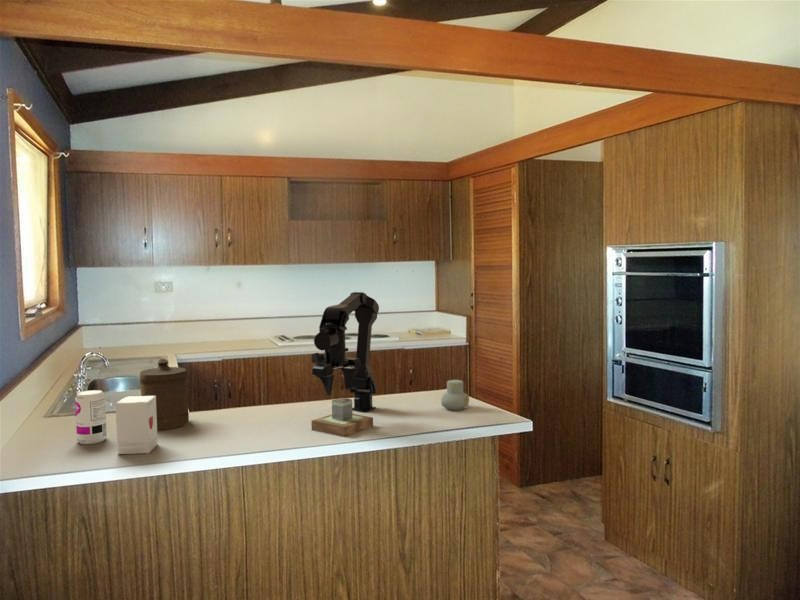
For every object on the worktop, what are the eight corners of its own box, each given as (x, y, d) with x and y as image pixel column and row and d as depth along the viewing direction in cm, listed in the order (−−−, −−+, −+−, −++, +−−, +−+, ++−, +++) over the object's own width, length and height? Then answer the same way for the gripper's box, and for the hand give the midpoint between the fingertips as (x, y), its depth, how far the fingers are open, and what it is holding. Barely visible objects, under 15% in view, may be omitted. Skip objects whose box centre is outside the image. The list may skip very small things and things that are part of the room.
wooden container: (166, 416, 223) (163, 354, 222) (198, 421, 217) (195, 357, 215) (131, 427, 210) (128, 361, 208) (164, 432, 203) (161, 364, 202)
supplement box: (149, 453, 182) (147, 402, 180) (116, 455, 181) (114, 403, 180) (158, 444, 191) (156, 395, 190) (127, 445, 190) (125, 395, 189)
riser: (340, 420, 215) (340, 410, 215) (373, 426, 207) (372, 416, 207) (311, 429, 204) (311, 420, 204) (344, 436, 196) (344, 426, 196)
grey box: (341, 415, 209) (341, 397, 208) (352, 417, 206) (352, 399, 205) (332, 418, 205) (331, 400, 204) (343, 421, 202) (342, 402, 202)
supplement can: (76, 446, 190) (73, 396, 189) (78, 439, 197) (75, 391, 196) (106, 442, 193) (104, 393, 192) (107, 435, 200) (104, 388, 199)
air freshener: (448, 404, 236) (448, 377, 235) (470, 406, 233) (470, 379, 232) (439, 411, 226) (439, 383, 225) (462, 413, 223) (462, 385, 222)
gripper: (336, 339, 221) (337, 384, 222) (298, 347, 205) (300, 395, 207) (361, 342, 214) (362, 387, 216) (324, 350, 199) (326, 399, 201)
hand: (338, 392), depth 210 cm, fingers open, 9 cm apart
